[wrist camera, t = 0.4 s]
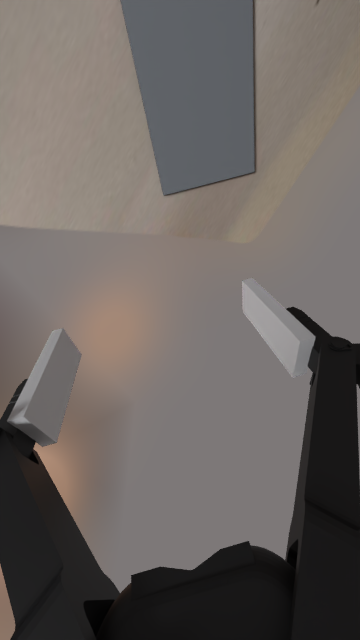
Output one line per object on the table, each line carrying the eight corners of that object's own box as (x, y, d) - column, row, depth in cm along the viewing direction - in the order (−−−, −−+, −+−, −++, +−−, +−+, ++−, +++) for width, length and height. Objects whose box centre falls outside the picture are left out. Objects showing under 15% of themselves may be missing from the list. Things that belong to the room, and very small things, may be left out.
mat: (107, -61, 23) (106, -66, 22) (248, -88, 23) (251, -94, 23) (163, 195, 36) (163, 195, 35) (252, 172, 36) (254, 171, 36)
